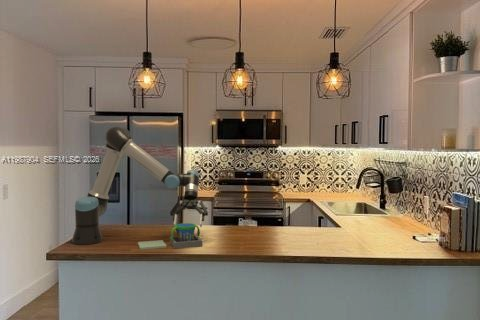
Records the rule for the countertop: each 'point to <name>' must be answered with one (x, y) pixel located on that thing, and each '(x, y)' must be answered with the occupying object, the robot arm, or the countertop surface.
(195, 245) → the square frame
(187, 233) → the snack cup
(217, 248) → the countertop surface
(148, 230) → the countertop surface
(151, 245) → the mat
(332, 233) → the countertop surface
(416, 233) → the countertop surface
